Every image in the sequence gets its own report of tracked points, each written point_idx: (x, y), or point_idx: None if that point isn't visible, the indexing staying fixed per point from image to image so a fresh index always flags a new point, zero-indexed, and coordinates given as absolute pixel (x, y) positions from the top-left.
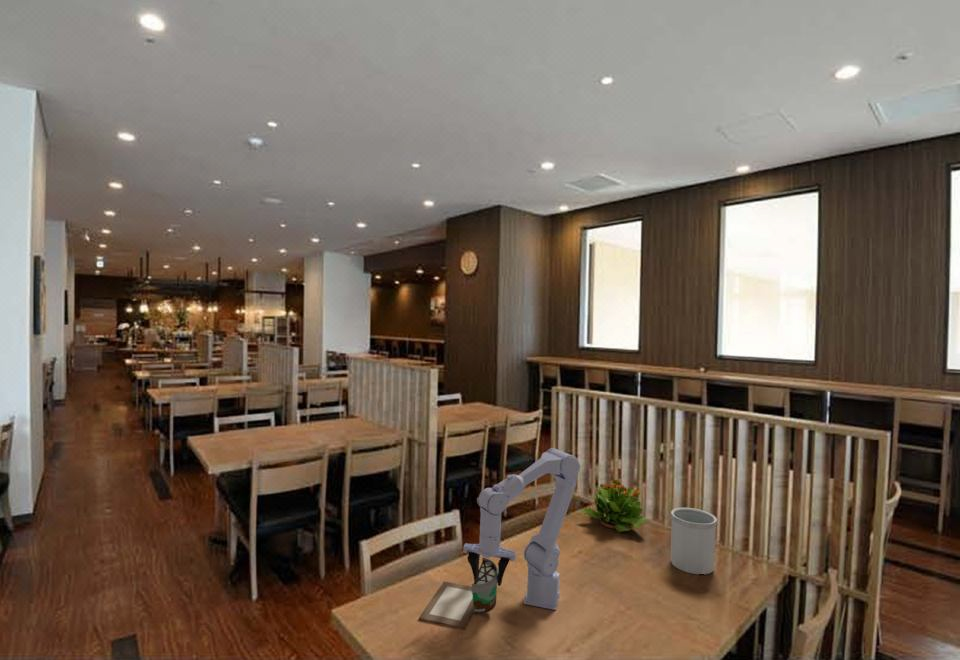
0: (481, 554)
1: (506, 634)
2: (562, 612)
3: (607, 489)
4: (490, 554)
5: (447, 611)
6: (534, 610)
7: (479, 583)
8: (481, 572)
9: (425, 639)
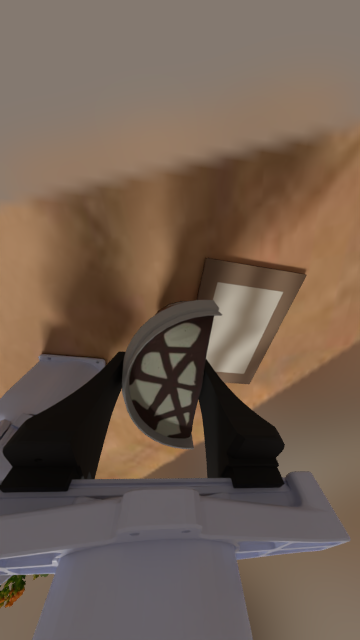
0: (209, 503)
1: (111, 259)
2: (27, 351)
3: (17, 587)
4: (116, 538)
5: (244, 307)
6: (80, 346)
7: (188, 333)
8: (187, 386)
9: (297, 199)
